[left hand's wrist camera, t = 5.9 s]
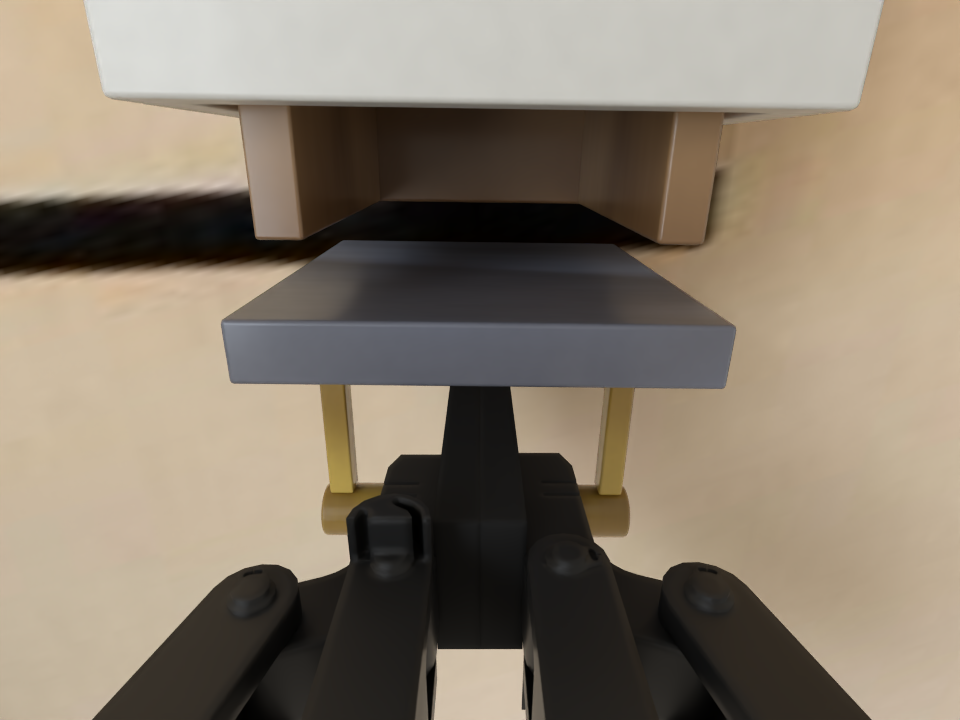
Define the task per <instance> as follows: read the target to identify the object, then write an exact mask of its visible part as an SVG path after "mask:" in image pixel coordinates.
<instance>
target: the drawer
mask: <svg viewBox="0 0 960 720" xmlns="http://www.w3.org/2000/svg"><path fill="white" fill-rule="evenodd" d="M238 110H239V117H240V125H241V133H242V140H243V148H244V155H245V163H246V170H247V178H248V185H249V193H250V200H251V208H252V215H253V223H254V230H255V237H256V238H257V239H259V240H302V239H304V238H306V237H308V236H310V235H312V234H314V233H316V232H318V231H320V230H322V229H324V228H326V227H328V226H330V225H332V224H334V223H337V222H339V221H341V220H343V219H345V218H347V217H349V216H351V215H353V214H355V213H357V212H359V211H361V210H363V209H365V208H367V207H369V206H371V205H373V204H375V203H377V202H379V201H417V202H489V203H560V204H581V205H583V206H585V207H587V208H589V209H591V210H593V211H595V212H597V213H599V214H601V215H603V216H605V217H607V218H609V219H611V220H613V221H615V222H617V223H619V224H621V225H623V226H625V227H627V228H629V229H631V230H633V231H635V232H637V233H639V234H641V235H642V236H644V237H646V238H648V239H650V240H652V241H654V242H656V243H658V244H661V245H700V244H702V243H703V242H704V239H705V232H706V226H707V220H708V214H709V207H710V201H711V195H712V189H713V183H714V176H715V170H716V164H717V158H718V151H719V145H720V139H721V133H722V126H723V120H724V114H725V112H676V111H612V110H548V109H484V108H420V107H356V106H292V105H238ZM221 328H222V334H223V340H224V346H225V352H226V358H227V364H228V370H229V376H230V381H231V383H234V384H320V391H321V401H322V411H323V421H324V431H325V441H326V450H327V460H328V470H329V480H330V484H328V486H327V488H326V490H325V493H324V496H323V501H322V511H321V520H322V527H323V531H324V533H325V534H327V535H348V534H347V525H346V518H347V516H348V515H349V513H350V512H351V510H352V509H353V508H354V507H356V506H357V505H358V504H360V503H361V502H363V501H364V500H367V499H370V498H373V497H375V496H378V495H381V491H382V488H383V485H384V483H357V481H358V476H357V464H356V451H355V438H354V426H353V413H352V400H351V387H350V385H417V386H509V387H601V388H605V389H604V399H603V408H602V418H601V427H600V437H599V446H598V456H597V465H596V475H595V484H596V485H578V488H579V492H580V496H581V499H582V502H583V506H584V509H585V513H586V516H587V519H588V523H589V526H590V530H591V533H592V537H624V536H626V535H627V533H628V530H629V525H630V507H629V500H628V496H627V493H626V490H625V488H624V487H623V486H622V484H623V476H624V468H625V460H626V452H627V444H628V437H629V429H630V421H631V413H632V405H633V397H634V389H635V388H693V389H722V388H724V387H725V386H726V381H727V376H728V370H729V365H730V360H731V355H732V350H733V345H734V339H735V334H736V327H735V326H734V325H733V324H731V323H730V322H728V321H727V320H725V319H724V318H722V317H721V316H719V315H718V314H716V313H715V312H713V311H712V310H710V309H709V308H707V307H706V306H704V305H703V304H702V303H700V302H699V301H697V300H696V299H694V298H693V297H691V296H690V295H688V294H687V293H685V292H684V291H682V290H681V289H679V288H678V287H676V286H675V285H673V284H672V283H670V282H669V281H667V280H666V279H665V278H663V277H662V276H660V275H659V274H657V273H656V272H654V271H653V270H651V269H650V268H648V267H647V266H645V265H644V264H642V263H641V262H639V261H638V260H636V259H635V258H633V257H632V256H630V255H629V254H627V253H626V252H625V251H623V250H622V249H620V248H619V247H617V246H616V245H614V244H576V243H502V242H427V241H352V240H344V241H342V242H340V243H338V244H337V245H335V246H334V247H332V248H331V249H329V250H328V251H326V252H325V253H323V254H322V255H320V256H319V257H317V258H316V259H314V260H313V261H311V262H310V263H308V264H307V265H305V266H304V267H302V268H300V269H299V270H297V271H296V272H294V273H293V274H291V275H290V276H288V277H287V278H285V279H284V280H282V281H281V282H279V283H278V284H276V285H275V286H273V287H272V288H270V289H269V290H267V291H266V292H264V293H262V294H261V295H259V296H258V297H256V298H255V299H253V300H252V301H250V302H249V303H247V304H246V305H244V306H243V307H241V308H240V309H238V310H237V311H235V312H234V313H232V314H231V315H229V316H228V317H226V318H224V319H223V320H222V322H221Z"/></svg>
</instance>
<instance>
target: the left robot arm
mask: <svg viewBox="0 0 960 720" xmlns="http://www.w3.org/2000/svg"><path fill="white" fill-rule="evenodd" d="M346 525H347V534H348V543H349V552H350V564H349V565H348V566H347V567H345V568H343V569H341V570H340V571H338V572H336V573H333V574H330V575H327V576H324V577H320V578H316V579H312V580H308V581H304V582H300V583H298V580H297V578H296V577H295V575H294V574H293V573H292V572H291V570H289V569H287V568H284V567H282V566H279V565H264V564H262V565H257V566H253V567H249V568H244V569H242V570H240V571H238V572H236V573H234V574H232V575H230V576H228V577H227V578H225V579H224V580H223V581H222V582H221V583H219V584H218V585H217V586H216V587H214V588H213V590H212V591H211V592H210V593H209V594H208V595H207V596H206V597H205V598H204V599H203V600H202V601H201V602H200V604H199V605H198V606H197V607H196V608H195V609H194V610H193V611H192V612H191V613H190V614H189V615H188V617H187V618H186V619H185V620H184V621H183V622H182V623H181V624H180V625H179V626H178V627H177V628H176V630H175V631H174V632H173V633H172V634H171V635H170V636H169V637H168V638H167V639H166V640H165V641H164V642H163V644H162V645H161V646H160V647H159V648H158V649H157V650H156V651H155V652H154V653H153V654H152V655H151V657H150V658H149V659H148V660H147V661H146V662H145V663H144V664H143V665H142V666H141V667H140V668H139V670H138V671H137V672H136V673H135V674H134V675H133V676H132V677H131V678H130V679H129V680H128V681H127V683H126V684H125V685H124V686H123V687H122V688H121V689H120V690H119V691H118V692H117V693H116V694H115V695H114V697H113V698H112V699H111V700H110V701H109V702H108V703H107V704H106V705H105V706H104V707H103V708H102V710H101V711H100V712H99V713H98V714H97V715H96V716H95V717H94V718H93V719H92V720H434V710H435V697H436V684H437V666H436V653H437V643H438V649H522V647H523V649H524V666H523V691H522V710H526V720H871V719H870V718H869V717H868V715H867V714H866V713H865V712H864V711H863V710H862V709H861V708H860V707H859V706H858V705H857V704H856V703H855V701H854V700H853V699H852V698H851V697H850V696H849V695H848V694H847V693H846V692H845V691H844V690H843V689H842V688H841V686H840V685H839V684H838V683H837V682H836V681H835V680H834V679H833V678H832V677H831V676H830V675H829V674H828V672H827V671H826V670H825V669H824V668H823V667H822V666H821V665H820V664H819V663H818V662H817V661H816V660H815V659H814V657H813V656H812V655H811V654H810V653H809V652H808V651H807V650H806V649H805V648H804V647H803V646H802V645H801V643H800V642H799V641H798V640H797V639H796V638H795V637H794V636H793V635H792V634H791V633H790V632H789V631H788V629H787V628H786V627H785V626H784V625H783V624H782V623H781V622H780V621H779V620H778V619H777V618H776V617H775V616H774V614H773V613H772V612H771V611H770V610H769V609H768V608H767V607H766V606H765V605H764V604H763V603H762V602H761V600H760V599H759V598H758V597H757V596H756V595H755V594H754V593H753V592H752V591H751V590H750V589H749V588H748V587H747V585H745V584H744V583H743V582H742V581H740V580H739V579H738V578H737V577H735V576H734V575H733V574H731V573H729V572H727V571H725V570H723V569H721V568H719V567H717V566H713V565H709V564H704V563H700V562H690V563H681V564H678V565H676V566H673V567H671V568H670V569H669V570H668V571H667V572H666V574H665V575H664V576H663V581H661V580H657V579H653V578H649V577H645V576H641V575H637V574H634V573H631V572H628V571H625V570H623V569H621V568H619V567H617V566H615V565H613V564H612V563H611V562H610V560H609V558H608V557H607V555H606V553H605V552H604V550H603V549H602V548H601V547H599V546H598V545H597V544H596V543H594V540H593V537H592V533H591V530H590V526H589V523H588V519H587V516H586V513H585V509H584V506H583V502H582V499H581V496H580V492H579V488H578V485H577V483H576V478H575V475H574V471H573V468H572V465H571V464H570V463H569V462H568V461H567V460H566V459H565V458H563V457H562V456H561V455H560V454H559V453H518V445H517V437H516V429H515V421H514V413H513V405H512V398H511V390H510V387H509V386H450V391H449V399H448V407H447V415H446V423H445V430H444V438H443V446H442V454H441V455H400V456H399V457H398V458H397V459H396V460H395V461H394V462H393V463H392V464H391V465H390V466H389V467H388V470H387V474H386V477H385V481H384V485H383V488H382V491H381V495H378V496H375V497H373V498H370V499H367V500H364V501H363V502H361V503H360V504H358V505H357V506H356V507H354V508H353V509H352V510H351V512H350V513H349V515H348V516H347V518H346Z"/></svg>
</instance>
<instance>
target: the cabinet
mask: <svg viewBox="0 0 960 720" xmlns="http://www.w3.org/2000/svg"><path fill="white" fill-rule="evenodd" d="M83 1H84V6H85V10H86V15H87V20H88V24H89V29H90V34H91V38H92V43H93V48H94V53H95V57H96V62H97V67H98V71H99V76H100V81H101V86H102V90H103V92H104V94H105V96H107V97H109V98H111V99H115V100H122V101H129V102H136V103H143V104H147V105H154V106H161V107H168V108H175V109H182V110H189V111H196V112H203V113H210V114H217V115H223V116H230V117H237V118H240V117H239V110H238V105H292V106H356V107H420V108H484V109H548V110H612V111H676V112H725V114H724V120H723V125H727V124H736V123H745V122H754V121H763V120H773V119H782V118H791V117H800V116H809V115H817V114H825V113H834V112H843V111H850V110H853V109H855V108H857V106H858V105H859V103H860V99H861V95H862V91H863V87H864V83H865V79H866V74H867V70H868V66H869V62H870V58H871V54H872V49H873V45H874V41H875V37H876V33H877V29H878V24H879V20H880V16H881V12H882V8H883V4H884V0H83Z"/></svg>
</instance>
